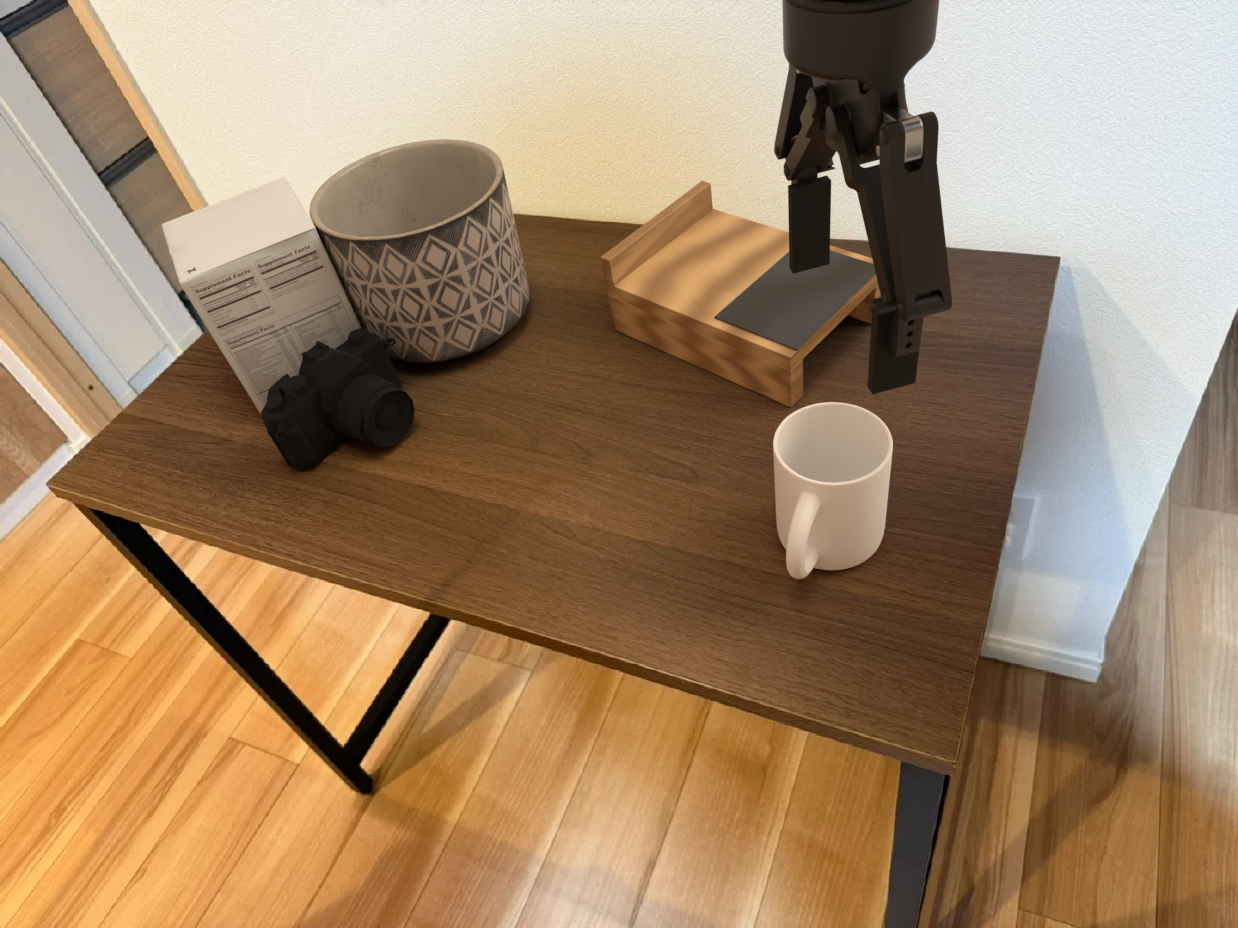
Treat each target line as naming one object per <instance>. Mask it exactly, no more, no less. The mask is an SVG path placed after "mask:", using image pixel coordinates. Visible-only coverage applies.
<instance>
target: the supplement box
mask: <svg viewBox="0 0 1238 928" xmlns="http://www.w3.org/2000/svg"><path fill="white" fill-rule="evenodd" d="M300 200H301V199H299V197H298V195H297V194H296V192H295V190H294V189H293V187H292V185H291V184H290V182H289V181H288V179H287V178H286V177H284V176H283V177H281V178H279V179H276V180H273V181H270V182H268V183H265V184H262V185H260V186H257V187H255V188H252V189H250V190H247V191H244V192H242V193H239V194H236V195H234V196H231V197H228V198H226V199H223V200H221V201H218V202H216V203H213V204H210V205H207V206H204V207H202V208H200V209H197V210H194V211H191V212H189V213H187V214H183V215H181V216H179V217H176V218H173V219H171V220H169V221H166V222H163V223H162V224H161V228H162V232H163V235H164V238H165V241H166V244H167V247H168V253H169V255H170V257H171V260H172V263H173V266H174V269H175V274H176V276H177V279H178V283H179V285H180V287H181V288H182V290H183V292H184V294H185V295H186V297H187V298H188V300H189V301H190V303H191V305H192V306H193V308H194V310H196V313H197V314H198V317H199V318H200V319H201V321H202V323H203V324H204V325H205V327H206V329H207V330H208V332H209V334H210V335H211V337H212V339H213V340H214V342H215V343H216V345H217V346H218V348H219V350H220V351H221V352H222V354H223V356H224V357H225V359H226V361H227V362H228V364H229V366H230V367H231V369H232V371H233V372H234V374H235V375H236V377H237V378H238V380H239V382H240V383H241V385H242V386H243V389H244V390H245V391H246V393H247V395H248V396H249V397H250V399H251V401H252V403H253V405H254V406H255V408H256V410H257V411H258V412H259V415H261V411H262V409H263V408H264V406H265V405H266V401H267V395H268V392H269V389H270V388H271V386H272V385H273V384H274V383H276V382H277V381H278V380H279V379H280V378H282V377H283V376H284V375H286V374H288V375H289V376H290V377H292V376H296V375H299V370H300V366H301V363H302V359H303V358H302V355H301V353H303V352H304V351H305V352H307V351H308V350H309V349H311V348H312V347H313V346H314V345H315V344H316V342H317V341H319V342H322V343H324V344H326V345H328V346H329V348H332V349H336V348H337V347H338V346H339V345H341V344H343V343H344V342H345V341H347V340H348V336H349V334H350V332H351V331H353V330H355V329H360V328H362V327H361V325H360V323H359V320H358V318H357V316H356V314H355V312H354V310H353V308H352V305H351V303H350V301H349V299H348V297H347V295H346V293H345V290H344V288H343V286H342V284H341V282H340V280H339V278H338V275H337V273H336V271H335V269H334V267H333V265H332V263H331V260H330V258H329V256H328V254H327V252H326V250H325V248H324V245H323V243H322V241H321V239H320V237H319V235H318V233H317V230H316V228H315V226H314V224H313V222H312V220H311V217H310V215H309V214H308V212H307V210H306V209H305V207H304V206H303V204H302V201H300Z"/></svg>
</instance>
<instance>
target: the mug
mask: <svg viewBox="0 0 1238 928" xmlns="http://www.w3.org/2000/svg"><path fill="white" fill-rule="evenodd" d="M772 440H773V441H772V453H773V474H774V475H773V478H774V497H775V499H774V500H775V520H776V531H777V534H778V538H779V540H780V543H781V545H782V546H783V548H784V549H785V565H786V570H787V572H788V574H789V575H790V577H792V578H793V579H795V580H802V579H805V578H806V577H808V576H809V575H810V573H811V572H812V571H813V569H817V570H821V571H822V570H823V571H841V570H847V569H851V568H854V567H856V566H859V565H861V564H863V563H864V562H866V561H867V560H869V559H870V558H871V557H872V556H873V555H874V554H875V553H876V551H877V550H879V547H880V545H881V543H882V540H883V538H884V535H885V534H884V533H885V529H886V521H887V510H888V501H889V491H890V490H889V489H890V481H891V469H892V462H893V461H892V460H893V450H894V441H893V436H892V433H891V431H890V429H889V428H888V425H887V424H886V423H885V422H884V421H883V420H882V419H881V418H880V417H879V416H878V415H876V414H875V413H873V412H872V411H870V410H868V409H867V408H864V407H861V406H859V405H855V404H851V403H847V402H839V401H827V402H818V403H813V404H809V405H806V406H804V407H801V408H798V409H797V410H795V411H793V412H792V413H790V414H789V415H787V416H786V417H785V418H784V419H783V420H782V421H781V422H780V423H779V425H778V426H777V428H776V431H775V432H774V436H773V439H772Z"/></svg>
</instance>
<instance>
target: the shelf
mask: <svg viewBox="0 0 1238 928" xmlns="http://www.w3.org/2000/svg"><path fill="white" fill-rule="evenodd" d="M712 194H713V193H712V184H711V183H710V182H708V181H704V180H701V181H699V182H698V183H697V184H695V185H694V186H693V187H691V188H690V189H689V190H688V191H686V192H685V193H683V194H682V195H681V196H680V197H678V198H677V199H675V200H673V202H672V203H670V204H669V205H668V206H666V207H665V208H664V209H662V210H661V211H660V212H659V213H657V214H655V216H653V217H651V218H650V219H649V220H648V221H646V222H645V223H644V224H643V225H641V226H640V227H639V228H637V229H636V230H634V231H633V232H632V233H630V235H628V236H627V237H625V238H624V239H623V240H621V241H619V243H617V244H616V245H615V246H614V247H612V248H611V249H609V250H608V251H607V252H605V253H604V254H603V255H602V256H600V263H601V267H602V272H603V276H604V278H603V279H604V282H605V288H606V292H607V296H608V303H609V307H610V312H611V317H612V322H613V326H614V331H616V332H619V333H621V334H623V335H625V336H627V337H630V338H632V339H634V340H637V341H639V342H641V343H643V344H646V345H648V346H650V347H653V348H655V349H657V350H659V351H661V352H663V353H666V354H668V355H671V356H672V357H673V356H674V357H675V358H677V359H680V360H682V361H684V362H687V363H689V364H691V365H694V366H695V367H698V368H701V369H702V370H705V371H708V372H709V373H711V374H714V375H716V376H718V377H720V378H723V379H725V380H727V381H730V382H731V383H735V384H737V385H739V386H742V387H743V388H745V389H748V390H750V391H752V392H755V393H757V394H759V395H762V396H764V397H766V398H768V399H771V400H773V401H775V402H777V403H780V404H782V405H784V406H787V407H789V408H792V407H793V406H795V404H797V402H798V401H799V400H800V399H801V398H802V397H803V396H804V359H805V358H806V357H807V355H808V354H810V352H812V351H813V350H814V349H815V348H816V347H817V346H818V345H819V344H820V343H821V342H822V341H823V340H824V339H825V338H826V337H827V336H828V335H829V334H830V333H831V332H832V331H833V330H834V329H835V328H836V327H838V325H839V324H840V323H841V322H842V321H844V319H845V318H846V317H850V318H853V319H856V320H859V321H862V322H865V323H867V324H870V325H871V323H872V312H871V310H870V307H869V306H872V305H873V299H876V298H879V297H881V294H880V290H879V285H878V281H877V277H876V272H875V268H874V264H873V259H872V257H869V256H867V255H862V254H859V253H856V252H853V251H850V250H846V249H844V248H841V247H837V246H834V245H831V244H830V264H829V265H825V266H821V267H817V268H813V269H809V270H806V271H802V272H798V273H794V274H793V273H792V271H791V270H790V267H789V231H785V230H782V229H779V228H776V227H773V226H771V225H770V226H769V225H766V224H763V223H760V222H757V221H753V220H750V219H747V218H744V217H740V216H737V215H734V214H731V213H729V212H724V211H721V210H718V209H715V208H714V207H713V195H712Z"/></svg>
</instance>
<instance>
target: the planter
mask: <svg viewBox="0 0 1238 928" xmlns="http://www.w3.org/2000/svg"><path fill="white" fill-rule="evenodd" d="M308 211H309V217H310V219H311V221H312V222H313V224H314V226H315V228H316V230H317V233H318V235H319V237H320V239H321V241H322V243H323V246H324V248H325V250H326V252H327V254H328V257H329V259H330V261H331V263H332V265H333V268H334V270H335V272H336V274H337V276H338V278H339V280H340V283H341V285H342V287H343V289H344V291H345V293H346V295H347V298H348V300H349V302H350V304H351V306H352V309H353V311H354V313H355V315H356V317H357V320H358V322H359V324H360V326H361V328H362V329H364V330H365V331H367V332H371V333H374V334H377V335H379V337H380V338H381V340H387V339H389V338H394V339H395V341H396V343H395V344H394V345H393V346H389V347H387V348H386V351H387V353H388V355H389V357H390V359H395V360H398V361H403V362H408V363H424V364H425V363H438V362H444V361H450V360H454V359H458V358H459V359H460V358H462V357H465V356H469V355H471V354H473V353H477V352H479V351H481V350H482V349H485V348H487V347H489V346H490V345H493V344H495V343H496V342H497V341H498V340H500V339H501V338H503V337H504V336H505V335H507V334H508V333H509V332H511V331H512V329H514V327H515V326H516V325H517V324H518V323H519V322H520V320H521V319H522V318H523V316H524V314H525V312H526V310H527V308H528V305H529V301H530V295H531V293H530V286H529V281H528V276H527V271H526V266H525V262H524V257H523V253H522V250H521V249H522V248H521V244H520V239H519V234H518V230H517V225H516V220H515V216H514V212H513V207H512V202H511V198H510V193H509V188H508V185H507V179H506V174H505V170H504V166H503V162H502V160H501V158H500V157H499V155H498V154H497V153H495V151H494V150H492V149H490V148H489V147H487V146H485V145H483V144H480V143H476V142H473V141H468V140H461V139H451V138H450V139H444V138H442V139H427V140H419V141H413V142H408V143H403V144H399V145H395V146H391V147H388V148H384V149H382V150H379V151H376V152H374V153H370V154H368V155H366V156H364V157H361V158H359V159H357V160H355V161H352V162H351V163H350V164H348V165H345V166H344V167H342V168H341V169H340V170H338V171H336V172H335V173H334V174H333V175H331V176H330V177H328V179H327V180H326V181H324V182H323V183H322V184H321V185H320V187H319V188H318V189H317V190H316V192H314V194H313V197H312V198H311V201H310V204H309V209H308ZM392 343H393V342H391V343H389V345H391V344H392Z"/></svg>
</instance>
